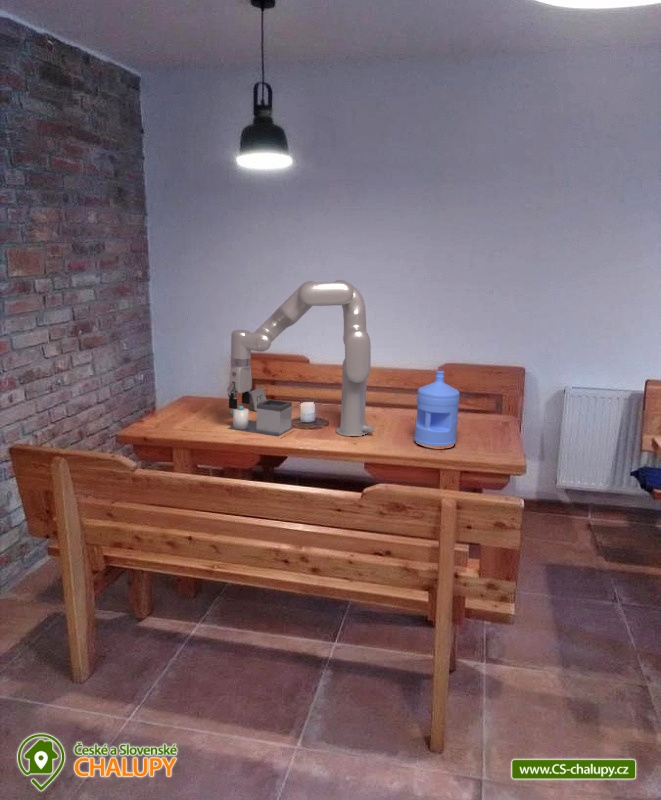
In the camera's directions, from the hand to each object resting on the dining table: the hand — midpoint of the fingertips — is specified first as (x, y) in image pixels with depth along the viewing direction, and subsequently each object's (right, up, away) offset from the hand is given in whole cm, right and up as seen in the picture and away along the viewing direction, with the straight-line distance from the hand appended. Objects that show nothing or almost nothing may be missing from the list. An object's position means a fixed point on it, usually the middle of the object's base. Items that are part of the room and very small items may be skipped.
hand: (239, 405), depth 252 cm
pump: (0, -8, +2) cm, 9 cm away
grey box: (+8, -10, +2) cm, 13 cm away
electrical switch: (+3, -2, +36) cm, 36 cm away
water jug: (+75, -15, -5) cm, 76 cm away
